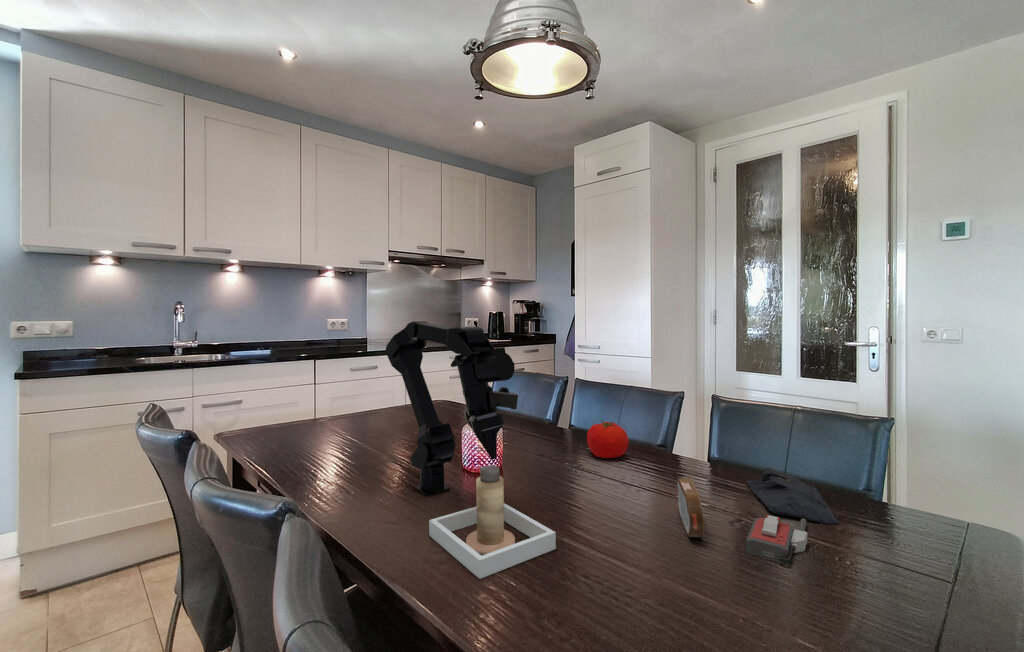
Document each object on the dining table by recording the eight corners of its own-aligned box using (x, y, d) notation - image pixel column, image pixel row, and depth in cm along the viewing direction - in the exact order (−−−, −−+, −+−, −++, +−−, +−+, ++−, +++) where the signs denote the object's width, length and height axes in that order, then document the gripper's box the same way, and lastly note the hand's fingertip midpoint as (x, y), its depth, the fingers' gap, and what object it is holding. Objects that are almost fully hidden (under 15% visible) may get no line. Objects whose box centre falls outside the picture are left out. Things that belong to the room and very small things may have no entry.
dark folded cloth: (757, 518, 96) (758, 495, 96) (744, 482, 117) (744, 463, 117) (845, 530, 91) (845, 506, 91) (815, 490, 112) (815, 470, 112)
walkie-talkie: (802, 574, 75) (810, 528, 92) (802, 547, 75) (810, 506, 92) (742, 558, 81) (760, 517, 97) (742, 533, 80) (760, 496, 97)
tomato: (594, 448, 145) (595, 415, 145) (634, 455, 138) (634, 421, 138) (578, 457, 136) (578, 422, 136) (619, 465, 129) (619, 428, 129)
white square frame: (429, 535, 88) (429, 520, 88) (498, 514, 98) (498, 500, 98) (479, 578, 74) (479, 560, 74) (555, 548, 83) (555, 532, 83)
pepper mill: (471, 537, 86) (471, 467, 86) (494, 529, 89) (493, 462, 89) (486, 548, 82) (485, 475, 82) (509, 539, 85) (508, 469, 85)
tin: (705, 546, 84) (705, 500, 84) (687, 544, 85) (687, 499, 84) (690, 511, 99) (690, 472, 99) (675, 510, 99) (675, 471, 99)
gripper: (519, 377, 93) (536, 453, 93) (503, 372, 112) (517, 436, 112) (465, 391, 91) (482, 469, 91) (457, 384, 110) (472, 448, 110)
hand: (490, 454), depth 101 cm, fingers open, 9 cm apart
